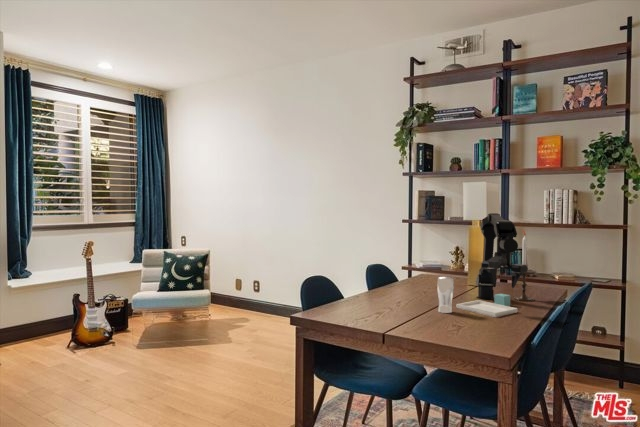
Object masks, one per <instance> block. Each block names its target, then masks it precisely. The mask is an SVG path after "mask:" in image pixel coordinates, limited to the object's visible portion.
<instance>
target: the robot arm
mask: <svg viewBox="0 0 640 427" xmlns="http://www.w3.org/2000/svg"><path fill="white" fill-rule="evenodd" d="M480 231H481V234H482V236H483V238H484V239H483V240H484V241H483V254H482V255H483V259H482V262H481V263H480V266H481V267H480V268H479V270H478V274H477V276H476V280H475V286H477V287H478V290H477V291H478V293H477V294H478V296H476V298H477V299H479V300H480V299H481V300H484V301H485V300H486V301H489V300H494V295H495V294H494V292H495V290H494V288H496V286H497V281H498V277H497V272H498V271H497V270H499V269H505V270H511V272H510V274H511V288H512V289H514V288H515V287H516V285H517V283H518V281H519V279H520V278H521V277H522V274H523V273H524V272H527V270H528V266H526V265H527V264H526V265H522V263H521V264H520V263H515V264H514V263H513V261H512V256H513V255H514V253H515V252H516V251H517V250H518V248H519V244H518V242H517V240H516V239H515V238H517V237H518V236H517V235H518V231H517V228H516V226H515V224H514V222H513V221H512V220H506V219H504V218H503V217H502V216H501V214H500V213H496V212H495V213H488V214H487V216H485V217H484V218H482V220H481V222H480ZM495 239H496V251H495V252H494V247H495ZM512 271H513V272H512Z"/></svg>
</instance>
